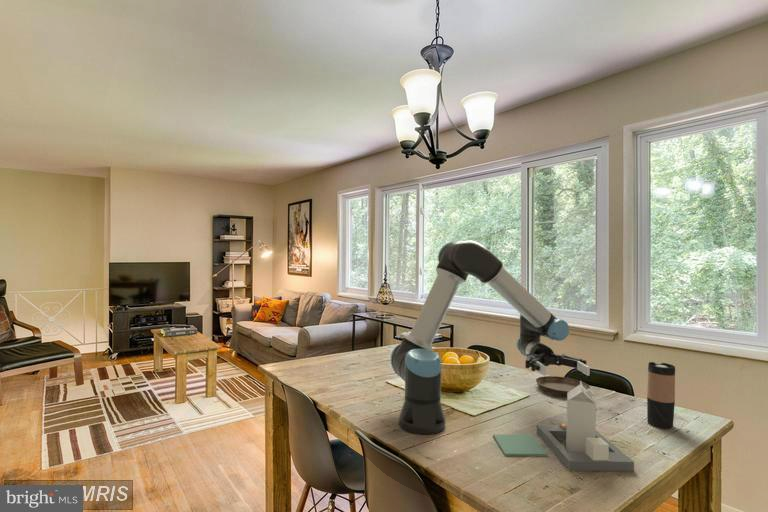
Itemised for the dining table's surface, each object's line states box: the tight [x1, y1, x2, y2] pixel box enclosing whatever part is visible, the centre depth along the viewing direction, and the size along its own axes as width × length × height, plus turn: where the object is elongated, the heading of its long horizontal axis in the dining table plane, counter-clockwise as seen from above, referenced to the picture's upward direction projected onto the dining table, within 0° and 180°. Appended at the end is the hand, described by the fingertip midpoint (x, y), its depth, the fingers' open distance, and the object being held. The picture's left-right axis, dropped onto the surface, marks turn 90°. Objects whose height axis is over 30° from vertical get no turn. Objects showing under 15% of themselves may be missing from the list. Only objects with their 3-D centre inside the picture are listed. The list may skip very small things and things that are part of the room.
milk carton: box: [565, 380, 597, 452], centre depth 118 cm, size 7×7×19 cm
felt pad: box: [492, 433, 549, 457], centre depth 120 cm, size 12×12×1 cm
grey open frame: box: [536, 423, 635, 472], centre depth 118 cm, size 17×22×7 cm
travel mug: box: [646, 361, 676, 430], centre depth 137 cm, size 8×8×20 cm
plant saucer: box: [535, 375, 591, 398], centre depth 170 cm, size 21×21×3 cm
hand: (566, 371), depth 128 cm, fingers open, 13 cm apart
